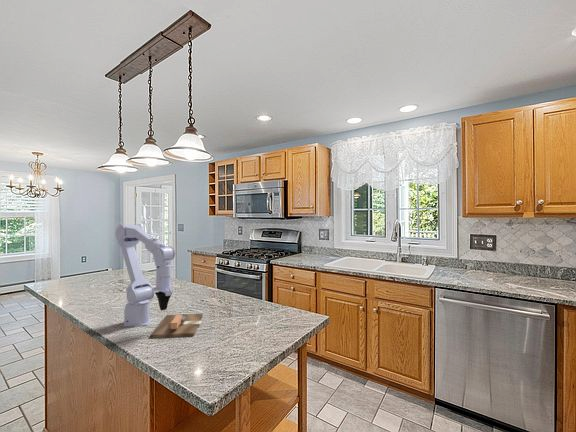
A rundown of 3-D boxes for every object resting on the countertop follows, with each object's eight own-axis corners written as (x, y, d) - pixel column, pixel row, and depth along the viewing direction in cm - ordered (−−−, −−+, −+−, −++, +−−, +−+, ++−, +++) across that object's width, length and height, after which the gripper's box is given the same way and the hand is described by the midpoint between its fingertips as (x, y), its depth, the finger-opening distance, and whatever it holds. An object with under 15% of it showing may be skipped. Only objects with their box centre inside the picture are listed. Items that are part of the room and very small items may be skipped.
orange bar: (174, 318, 122) (174, 313, 122) (186, 318, 123) (186, 312, 123) (166, 329, 110) (167, 323, 110) (180, 328, 111) (180, 322, 111)
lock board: (150, 338, 108) (150, 332, 108) (166, 317, 129) (166, 313, 129) (196, 335, 110) (196, 330, 110) (204, 316, 132) (204, 311, 132)
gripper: (149, 274, 119) (148, 306, 119) (158, 281, 108) (157, 316, 107) (166, 272, 123) (166, 303, 123) (176, 278, 112) (176, 312, 112)
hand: (163, 309), depth 116 cm, fingers closed
